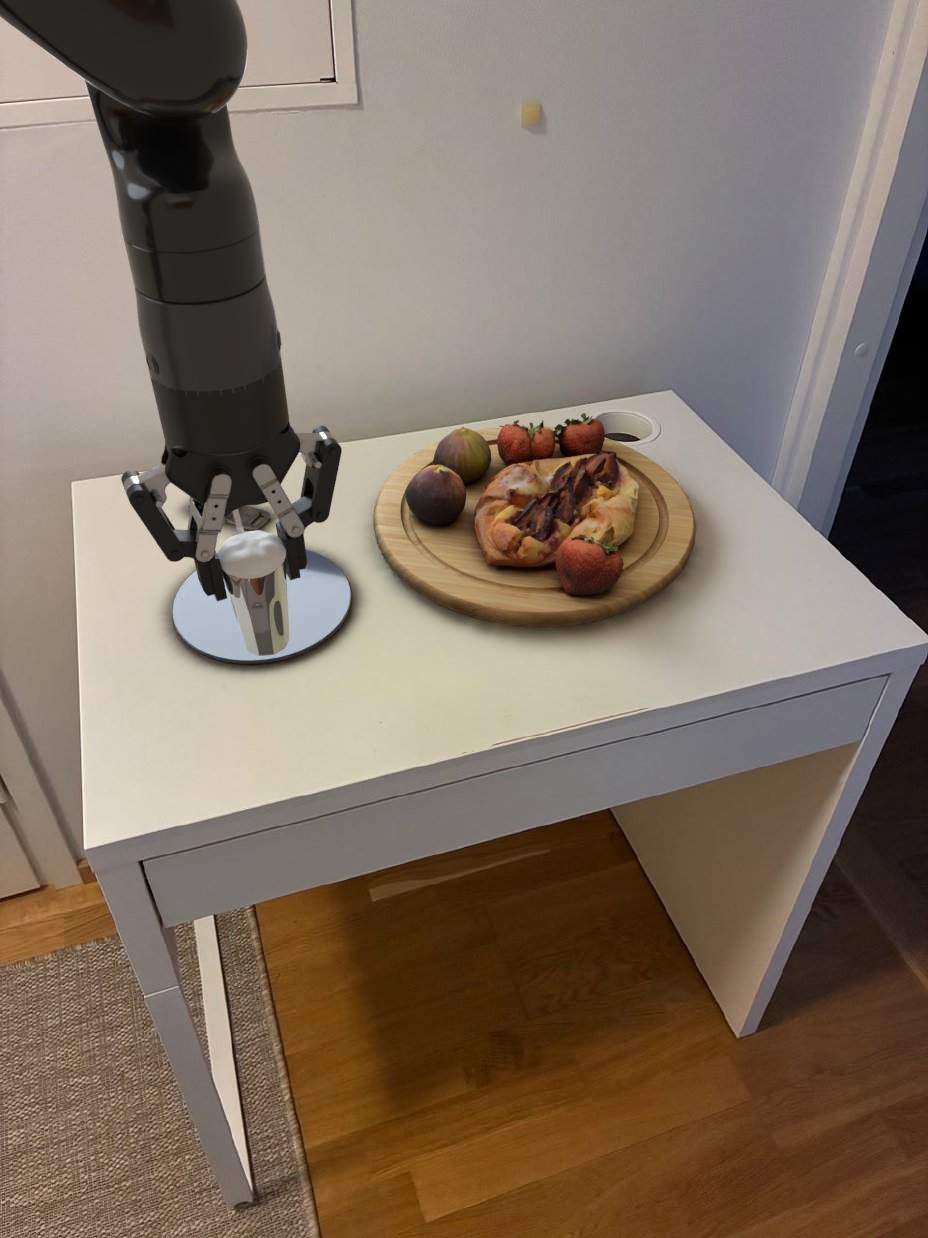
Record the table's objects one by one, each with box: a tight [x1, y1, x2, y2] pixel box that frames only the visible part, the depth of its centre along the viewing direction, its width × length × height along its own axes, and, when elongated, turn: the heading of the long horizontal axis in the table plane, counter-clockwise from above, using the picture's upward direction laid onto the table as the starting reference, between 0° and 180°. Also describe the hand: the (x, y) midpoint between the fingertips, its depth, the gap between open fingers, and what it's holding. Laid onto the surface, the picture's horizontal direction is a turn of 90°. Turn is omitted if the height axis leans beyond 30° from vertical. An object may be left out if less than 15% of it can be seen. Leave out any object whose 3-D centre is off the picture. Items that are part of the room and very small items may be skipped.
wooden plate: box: [372, 412, 697, 627], centre depth 94 cm, size 32×32×8 cm
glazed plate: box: [171, 549, 352, 665], centre depth 87 cm, size 16×16×1 cm
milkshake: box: [217, 509, 290, 656], centre depth 67 cm, size 4×5×10 cm
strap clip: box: [187, 502, 271, 530], centre depth 96 cm, size 8×3×4 cm, turn 65°
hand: (255, 582), depth 66 cm, fingers closed on milkshake, 4 cm apart
